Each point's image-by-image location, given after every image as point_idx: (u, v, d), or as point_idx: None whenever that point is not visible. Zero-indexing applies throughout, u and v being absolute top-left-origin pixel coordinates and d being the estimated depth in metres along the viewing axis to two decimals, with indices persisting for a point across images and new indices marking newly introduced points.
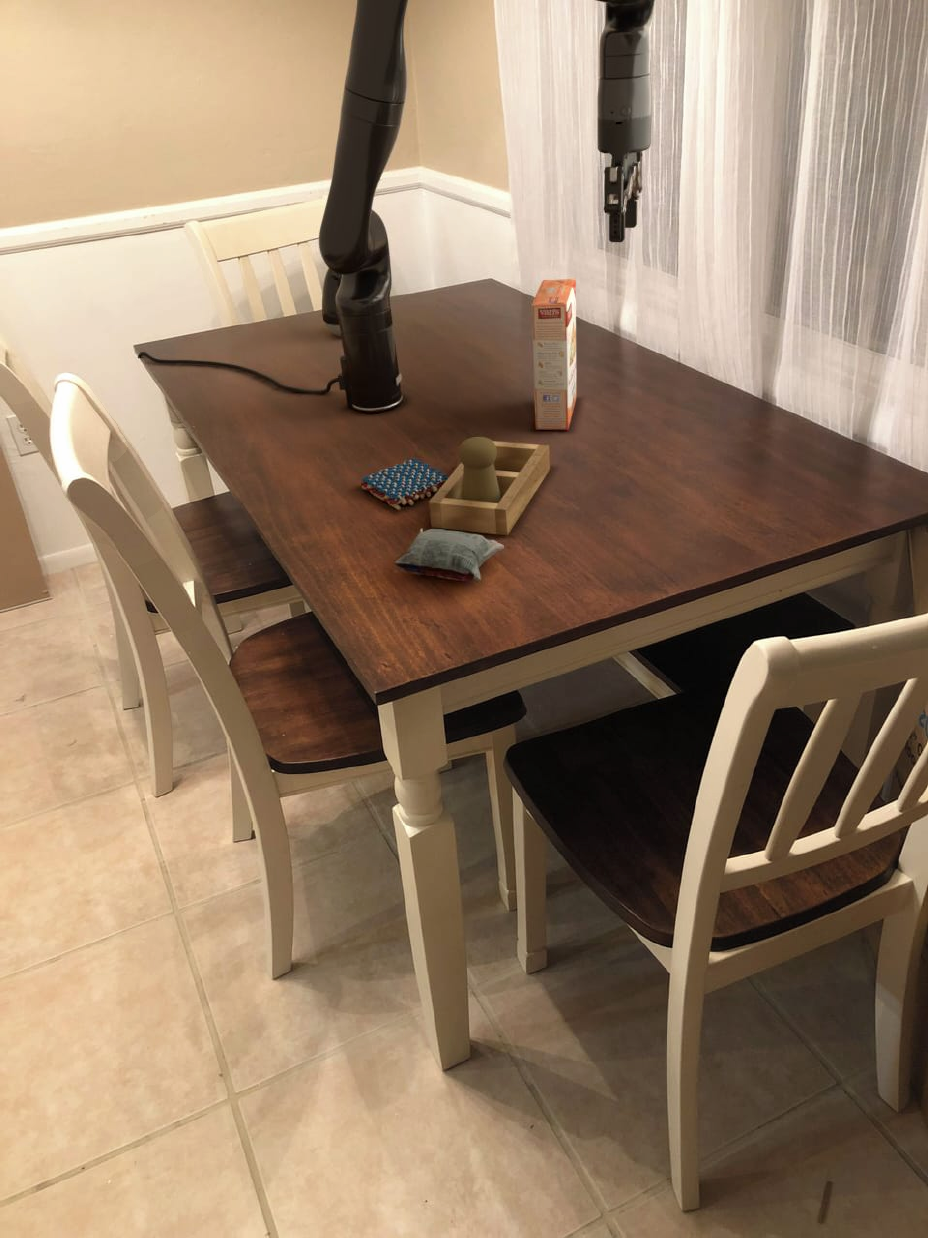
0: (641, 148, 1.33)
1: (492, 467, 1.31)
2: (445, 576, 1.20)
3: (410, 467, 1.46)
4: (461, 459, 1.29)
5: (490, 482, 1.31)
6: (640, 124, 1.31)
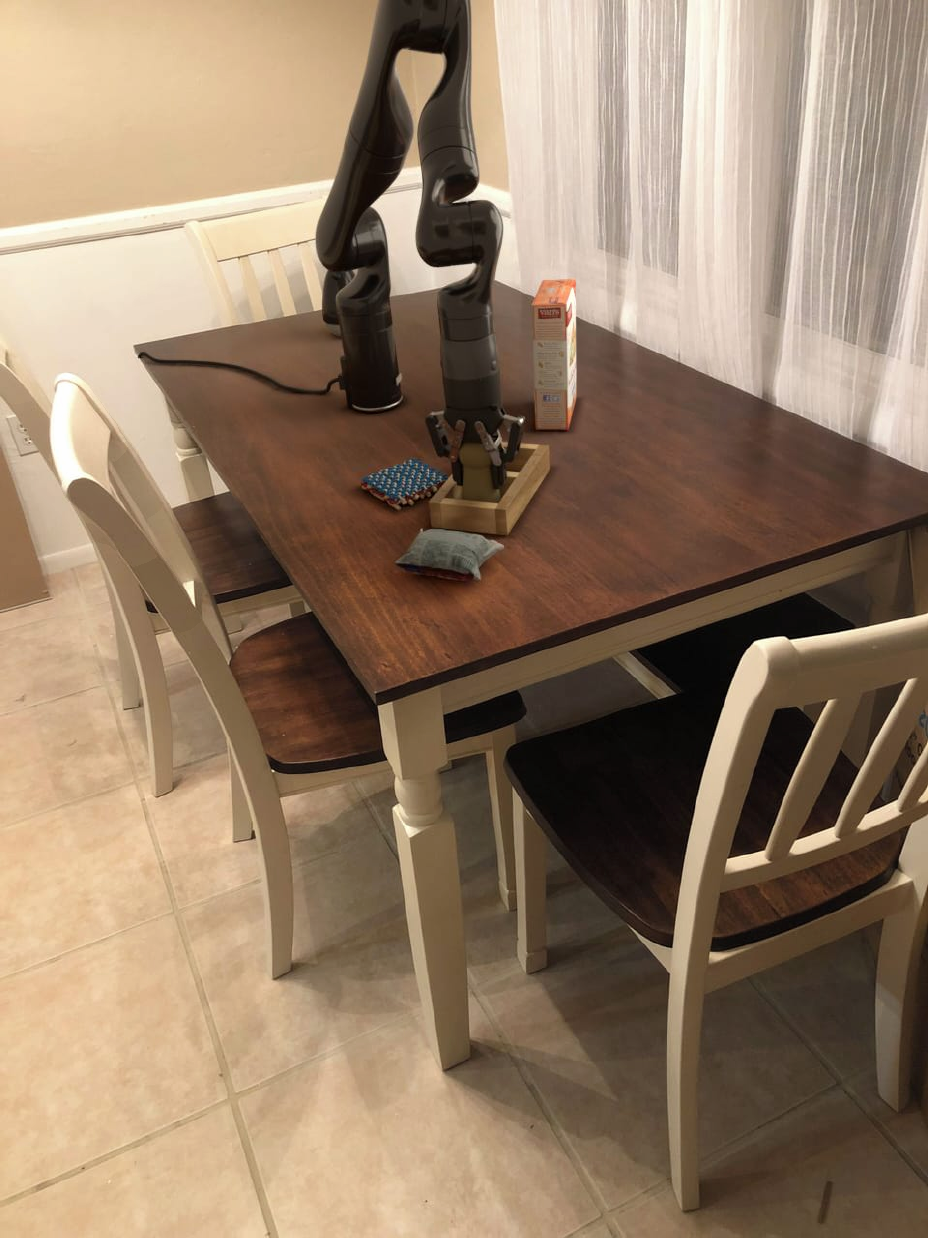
0: (449, 406, 1.24)
1: None
2: (445, 576, 1.20)
3: (410, 467, 1.46)
4: (461, 459, 1.29)
5: (490, 482, 1.31)
6: (445, 382, 1.23)
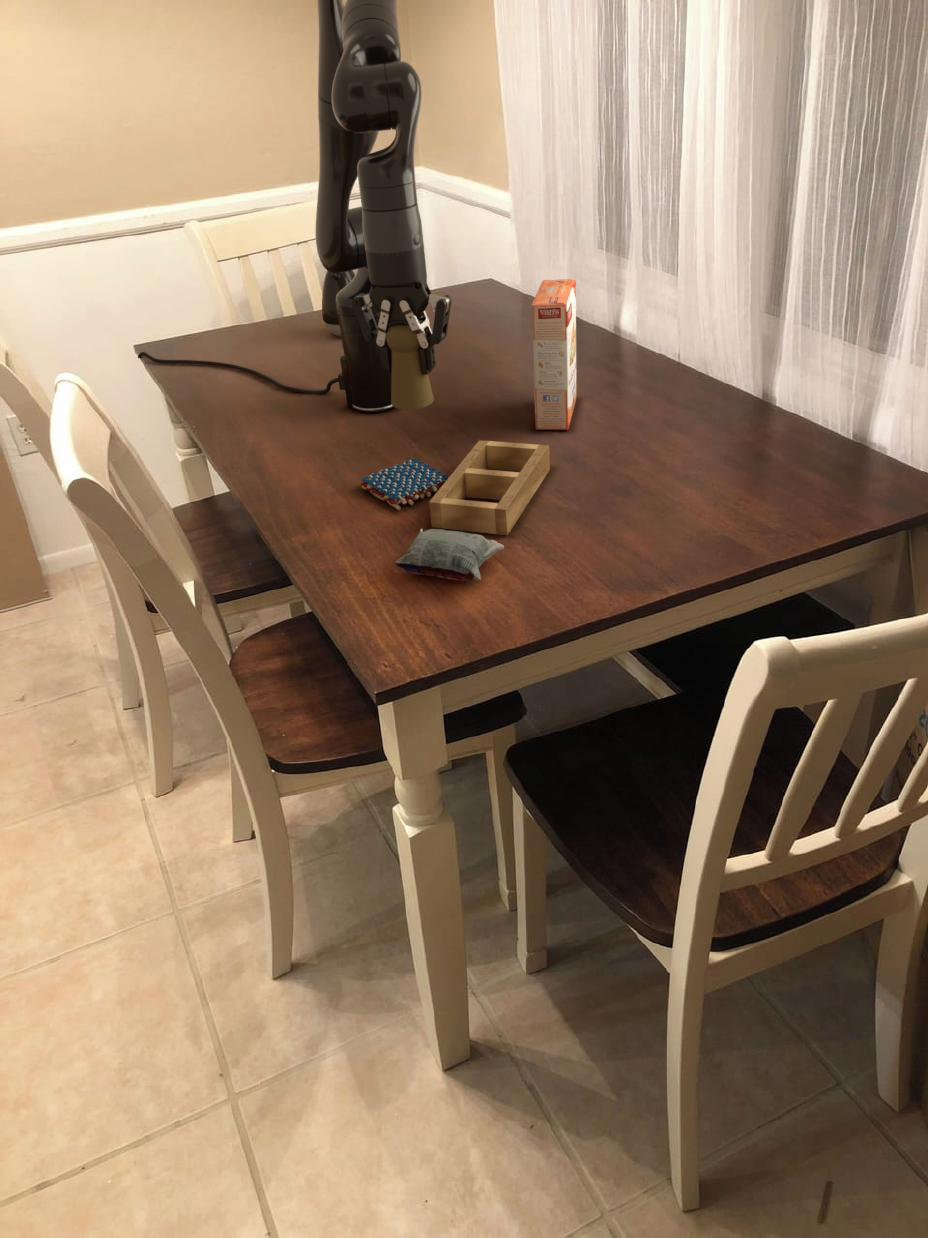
0: (373, 283, 1.23)
1: None
2: (445, 576, 1.20)
3: (410, 467, 1.46)
4: (388, 342, 1.28)
5: (418, 366, 1.29)
6: (368, 258, 1.21)
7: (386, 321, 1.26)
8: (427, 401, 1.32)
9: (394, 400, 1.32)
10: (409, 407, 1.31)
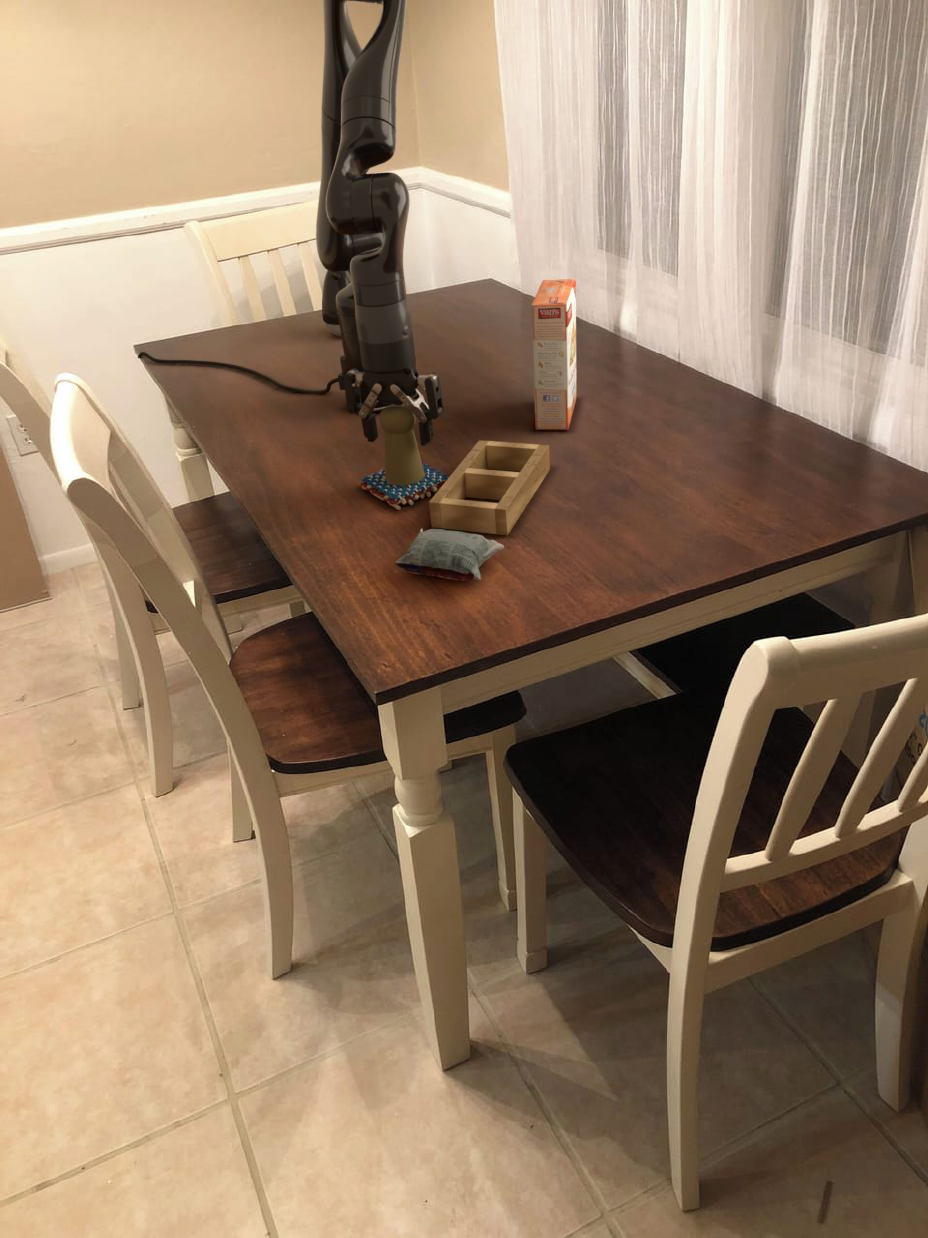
0: (365, 369, 1.31)
1: (411, 432, 1.38)
2: (445, 576, 1.20)
3: None
4: (381, 424, 1.37)
5: (410, 446, 1.38)
6: (361, 347, 1.30)
7: (373, 400, 1.35)
8: (418, 477, 1.41)
9: (387, 477, 1.41)
10: (401, 483, 1.40)
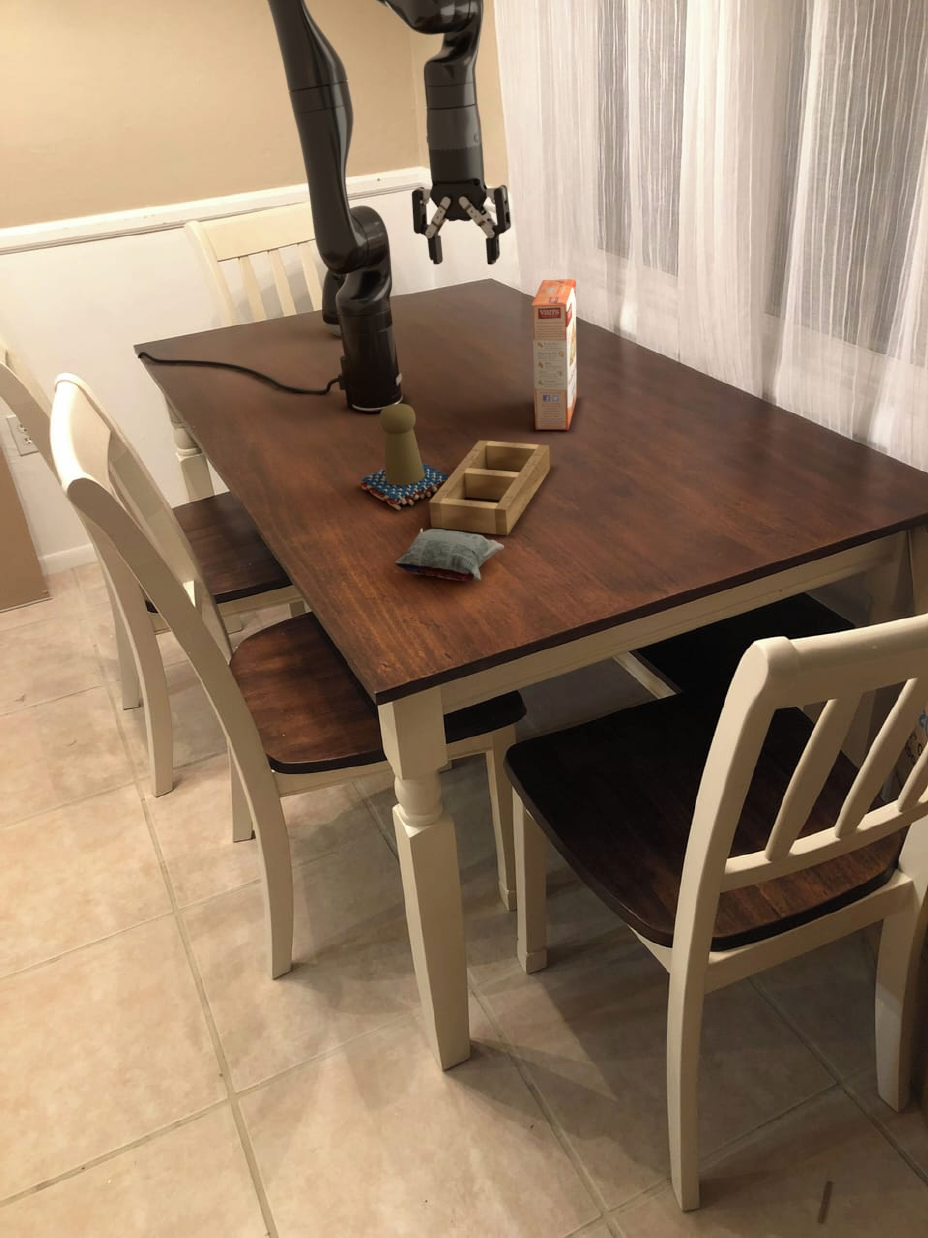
0: (435, 180, 1.33)
1: (411, 432, 1.38)
2: (445, 576, 1.20)
3: None
4: (381, 424, 1.37)
5: (410, 446, 1.38)
6: (431, 156, 1.31)
7: (441, 216, 1.36)
8: (418, 477, 1.41)
9: (387, 477, 1.41)
10: (401, 483, 1.40)
